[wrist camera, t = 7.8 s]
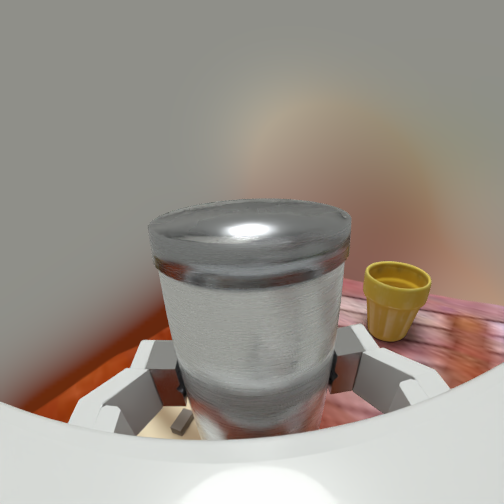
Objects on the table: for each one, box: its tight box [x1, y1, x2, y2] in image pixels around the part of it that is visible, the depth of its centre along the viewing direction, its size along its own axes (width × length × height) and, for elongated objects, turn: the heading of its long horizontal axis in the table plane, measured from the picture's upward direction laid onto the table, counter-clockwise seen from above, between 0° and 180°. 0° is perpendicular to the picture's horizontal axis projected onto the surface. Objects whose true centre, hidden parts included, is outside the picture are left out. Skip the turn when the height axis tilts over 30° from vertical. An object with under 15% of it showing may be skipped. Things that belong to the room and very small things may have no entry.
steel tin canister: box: [148, 199, 351, 440], centre depth 9 cm, size 5×5×12 cm
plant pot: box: [363, 261, 431, 342], centre depth 38 cm, size 10×10×10 cm
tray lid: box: [137, 398, 201, 440], centre depth 24 cm, size 13×10×2 cm
